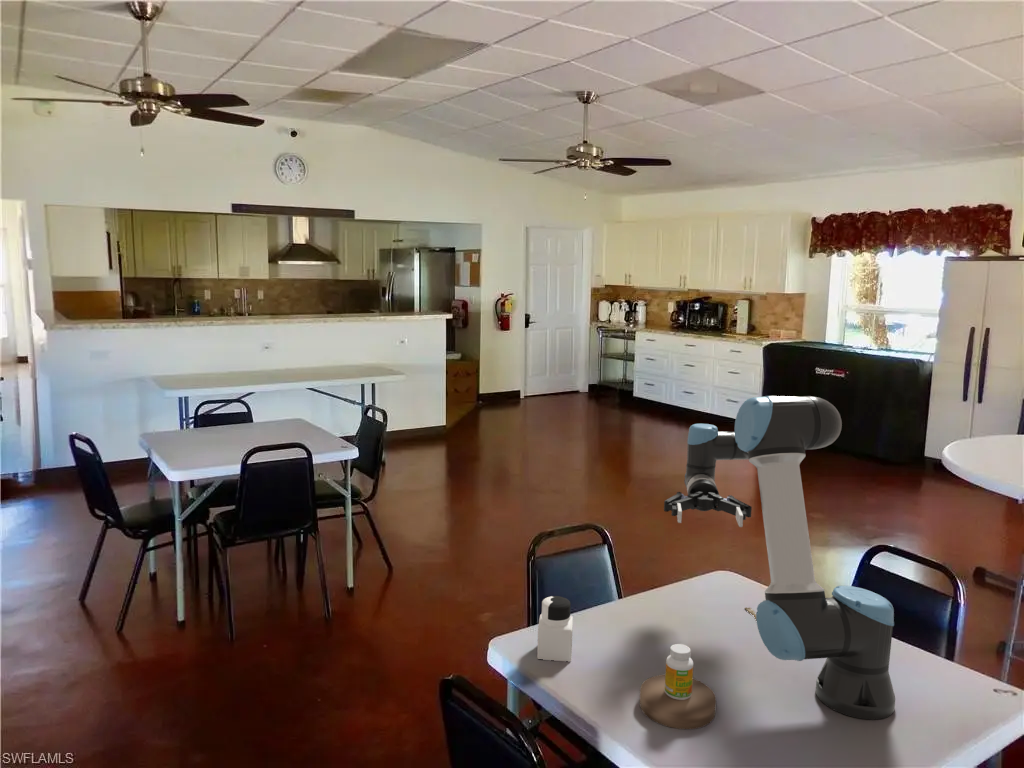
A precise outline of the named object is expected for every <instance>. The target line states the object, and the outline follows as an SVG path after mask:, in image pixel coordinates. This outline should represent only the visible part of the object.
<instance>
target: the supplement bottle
mask: <svg viewBox="0 0 1024 768" xmlns="http://www.w3.org/2000/svg"><path fill="white" fill-rule="evenodd" d="M664 675H665V693H666V694H667V695H668V696H669V697H671V698H673V699H677V700H685V699H688V698H690V697H691V695H692V680H693V679H694V678H693V676H694V661H693V659H692V658H691V648H690V647H689V646H687V645H686V644H683V643H675V644H672V645H671V646H670V648H669V655H668V656H667V657H666V660H665V673H664Z"/></svg>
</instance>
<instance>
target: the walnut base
mask: <svg viewBox="0 0 1024 768" xmlns="http://www.w3.org/2000/svg"><path fill="white" fill-rule="evenodd" d="M639 691H640V692H639V707H640V710H641V711H642V713H643V714H644V715H645V716H646V717H647V718H648V719H650V720H651V721H653V722H655V723H657V724H658V725H662V726H664V727H667V728H671V729H678V730H693V729H694V730H695V729H700V728H703V727H705V726H708V725H709V724H710V723H712V722H713V720H714V719H715V716H716V705H717V698H716V695H715V693H714V691H713V689H712V688H710V687H709V685H707V684H705V683H704V682H702V681H700V680H698V679H695V678H693V680H692V695H691V697H690V698H688V699H685V700H677V699H673V698H671V697H669V696H668V695H667V694H666V693H665V674H658V675H654V676H651V677H649V678H647V679H646V680H644V681H643V682H642V683H641V686H640V690H639Z"/></svg>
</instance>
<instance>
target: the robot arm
mask: <svg viewBox="0 0 1024 768" xmlns="http://www.w3.org/2000/svg"><path fill="white" fill-rule="evenodd" d="M842 424H843V422H842V418H841V413H840V412H839V411H838V409H837V408H836V406H834V404H832V403H831V402H829V401H828V400H826V399H824V398H821V397H819V396H818V397H817V396H811V395H803V396H795V395H793V396H790V395H789V396H788V395H787V396H785V395H780V396H779V395H778V396H777V395H765V396H757V397H756V396H755V397H750V398H747V399H746V400H745V401H743V403H742V404H741V405H740V406H739V408H738V412H737V414H736V417H735V421H734V431H719V430H718V427H717V426H716V425H714V424H709V423H694V424H692V425H690V427H689V428H688V433H687V434H688V435H687V440H686V441H687V446H686V447H687V450H686V451H687V453H686V454H687V455H686V466H685V469H686V470H685V474H684V485H685V487H686V491H687V495H684V493H682V492H681V491H677V492H676V493H675V494H674V495H672V496H671V497H669V498H667V499H665V500H664V503H663V511H664V512H665V513H667V512H668V513H669V512H671V516H673V517H677V519H676V520H677V523H678V524H682V518H683V517H682V516H683V511H686V510H687V511H688V510H689V509H690V510H698V511H700V512H708V511H711V510H712V511H715V512H724V513H726V514H730V515H732V516H735V519H736V523H737V526H738V527H739V528H743V524H744V521H746V520H747V518H751V517H752V508H753V507H752V506H751V505H749V504H747V503H745V502H743V501H741V500H740V499H737V498H735V496H733V495H732V494H730V495H728V496H726V498H725V497H723V496H721V495H720V493H719V490H718V486H717V484H716V481H715V480H716V468H717V467H716V465H717V461H731V460H734V461H735V460H738V461H739V460H740V461H741V460H748V462H749V463H751V465H753V466H754V467H755V468H756V470H757V479H758V486H759V493H760V494H759V495H760V502H761V510H762V512H761V513H762V520H763V527H764V536H765V544H766V551H767V559H768V560H767V561H768V568H769V575H770V584H769V585H768V587H767V588H766V589H765V590H764V597H765V600H763V601H761V602H759V603H758V605H757V607H756V612H755V613H756V620H755V622H756V621H757V622H756V626H757V629H758V633H759V636H760V638H761V640H762V642H763V645H764V646H765V647H766V649H767V650H768V652H769V653H770V654H771V655H772V656H773V657H775V658H776V659H778V660H780V661H797V662H801V661H804V660H814V659H815V660H816V659H818V660H819V659H825V662H824V663H823V665H822V667H821V670H820V672H819V674H818V676H817V678H816V681H815V682H816V683H815V694H816V696H817V698H818V699H819V701H820V702H821V703H822V704H824V706H826V707H828V708H829V709H832V710H833V711H835V712H838V713H840V714H842V715H846V716H847V717H848V716H849V717H852V718H856V719H862V720H881V719H885V718H888V717H890V716H892V714H893V713H894V711H895V709H896V708H895V706H896V695H895V692H894V686H893V684H892V679H891V676H890V672H889V669H890V668H889V667H890V659H891V649H892V637H893V631H894V629H893V628H894V626H895V621H894V619H895V618H894V617H895V613H894V612H895V609H894V607H893V604H892V603H891V602H890V600H888V599H887V598H886V597H883V596H882V595H881V594H878V593H875V592H873V591H871V590H868V589H866V588H862V587H858V586H857V587H856V586H853V585H837V586H835V587H834V588H833V590H832V591H831V595H832V596H831V597H826V592H825V588H823V587H822V586H821V585H820V584H819V583H817V581H816V577H815V570H814V564H813V563H814V561H813V554H812V548H811V541H810V535H809V527H808V526H809V525H808V519H807V512H806V504H805V503H806V502H805V498H804V497H805V496H804V489H803V482H802V474H801V468H800V465H801V463H802V461H803V460H804V459H805V458H806V451H807V450H817V449H822V448H826V447H828V446H830V445H832V444H833V443H834V442H835V441H836V440H837V439H838V438H839V436H840V434H841V431H842V428H843V427H842V426H843V425H842Z"/></svg>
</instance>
